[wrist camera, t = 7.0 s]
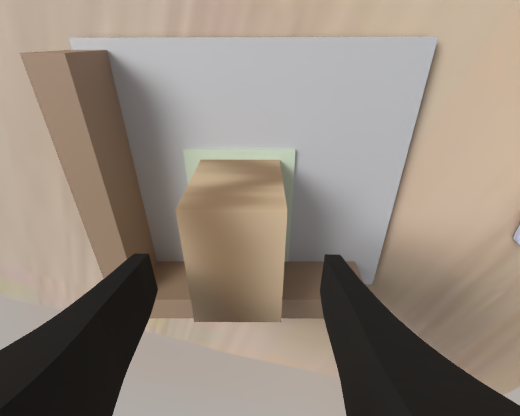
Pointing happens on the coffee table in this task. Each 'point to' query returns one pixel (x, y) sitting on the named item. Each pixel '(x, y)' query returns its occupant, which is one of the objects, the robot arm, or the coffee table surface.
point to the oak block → (234, 240)
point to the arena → (234, 142)
